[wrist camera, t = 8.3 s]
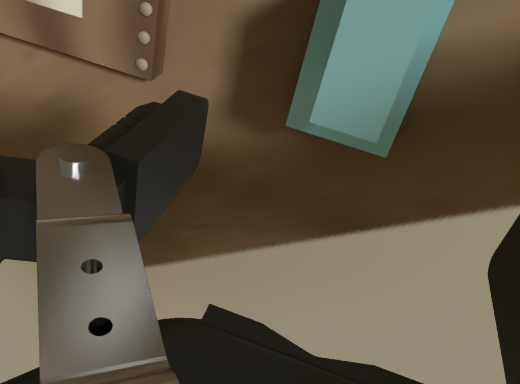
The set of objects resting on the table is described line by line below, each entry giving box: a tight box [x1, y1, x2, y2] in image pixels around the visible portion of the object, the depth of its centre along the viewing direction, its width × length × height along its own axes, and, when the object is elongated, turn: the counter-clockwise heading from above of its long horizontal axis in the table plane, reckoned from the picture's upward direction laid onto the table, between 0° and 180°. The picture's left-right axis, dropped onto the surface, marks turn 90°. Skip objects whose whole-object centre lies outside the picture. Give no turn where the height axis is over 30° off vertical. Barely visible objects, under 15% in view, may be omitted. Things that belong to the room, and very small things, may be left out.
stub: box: [286, 0, 455, 158], centre depth 22 cm, size 6×13×8 cm, turn 167°
